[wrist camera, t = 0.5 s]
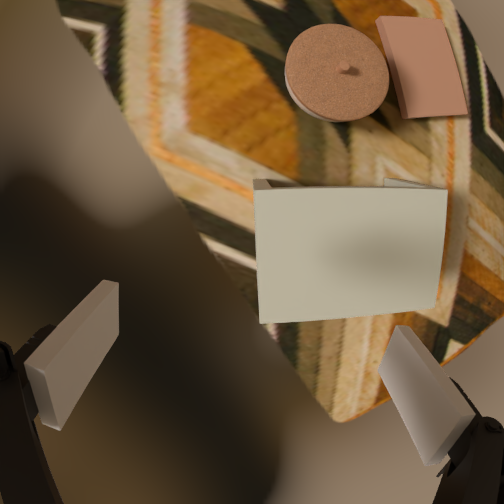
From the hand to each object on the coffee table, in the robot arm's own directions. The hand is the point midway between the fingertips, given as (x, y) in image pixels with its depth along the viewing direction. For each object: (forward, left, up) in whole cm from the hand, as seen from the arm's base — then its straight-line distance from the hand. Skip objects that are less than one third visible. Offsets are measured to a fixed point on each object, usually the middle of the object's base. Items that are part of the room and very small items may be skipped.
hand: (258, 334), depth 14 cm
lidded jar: (-16, +9, -27) cm, 33 cm away
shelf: (+1, +9, -26) cm, 28 cm away
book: (-20, +23, -27) cm, 41 cm away
